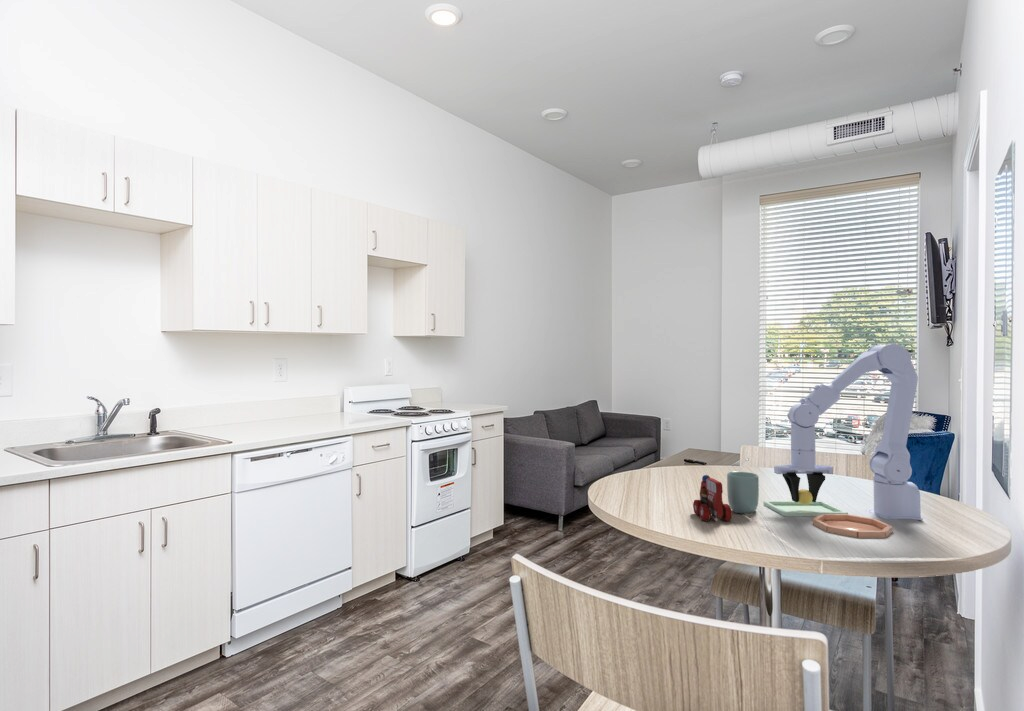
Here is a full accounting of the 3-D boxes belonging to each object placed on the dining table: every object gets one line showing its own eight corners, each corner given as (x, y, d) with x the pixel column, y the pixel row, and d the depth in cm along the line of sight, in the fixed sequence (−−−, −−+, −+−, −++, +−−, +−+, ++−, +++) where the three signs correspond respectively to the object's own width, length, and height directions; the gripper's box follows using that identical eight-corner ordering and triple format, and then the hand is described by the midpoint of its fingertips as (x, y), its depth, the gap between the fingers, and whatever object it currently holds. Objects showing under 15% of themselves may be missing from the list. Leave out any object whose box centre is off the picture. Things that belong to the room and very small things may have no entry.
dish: (864, 521, 137) (864, 514, 137) (906, 540, 122) (906, 532, 122) (803, 521, 137) (803, 513, 137) (837, 540, 122) (837, 531, 122)
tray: (822, 506, 152) (822, 501, 152) (848, 518, 140) (848, 512, 140) (763, 506, 152) (763, 501, 152) (784, 518, 140) (784, 512, 140)
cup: (762, 516, 141) (761, 477, 142) (730, 515, 143) (729, 476, 143) (755, 509, 149) (754, 472, 149) (724, 507, 151) (724, 471, 151)
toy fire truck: (716, 511, 147) (715, 472, 148) (734, 524, 135) (734, 481, 135) (690, 511, 147) (689, 472, 148) (706, 524, 135) (705, 481, 135)
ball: (808, 502, 147) (808, 487, 148) (815, 506, 143) (815, 491, 144) (793, 502, 148) (792, 487, 148) (799, 506, 144) (799, 490, 144)
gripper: (822, 447, 150) (823, 497, 150) (768, 447, 150) (769, 497, 150) (837, 451, 143) (838, 504, 143) (780, 451, 143) (781, 504, 143)
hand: (803, 501), depth 146 cm, fingers closed on ball, 4 cm apart
